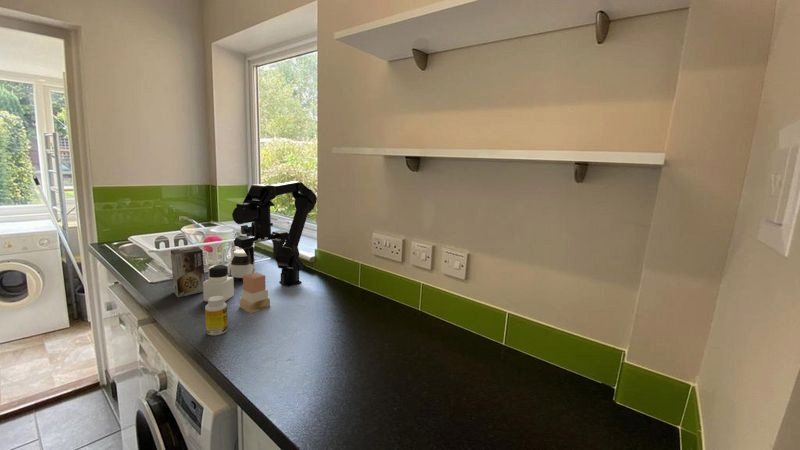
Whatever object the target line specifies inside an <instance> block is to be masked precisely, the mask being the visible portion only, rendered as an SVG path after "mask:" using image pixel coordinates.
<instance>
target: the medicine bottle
mask: <svg viewBox="0 0 800 450" xmlns="http://www.w3.org/2000/svg"><path fill="white" fill-rule="evenodd" d="M207 269H208V271H207V273H208V279H206V280H205V281H204V282H203V292H202V293H203V301H204V302H208V299H209V298H210V297H213V296H223V297H224V302H225V303H226V301H227V300H229V299H230V298H232V297H234V296H235V287H234V286H235V285H234V284H235V283H234V282H235V279H233V277H232V276H229V273H228V265H225V264H214V265H211V266H209V267H208V268H207Z"/></svg>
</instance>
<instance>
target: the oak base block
mask: <svg viewBox="0 0 800 450" xmlns="http://www.w3.org/2000/svg"><path fill="white" fill-rule="evenodd" d="M270 305H271V299H270V297H268V298H267V299H264V300H261V301H257V302H254V303H250V302H248V301H246V300H244V299H242V297H239V308H241V309H242V310H244V311H245V312H248V313H249V314H253V313H256V312H259V311H263V310H265V309H269V308H270V307H271V306H270Z"/></svg>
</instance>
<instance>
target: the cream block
mask: <svg viewBox="0 0 800 450" xmlns="http://www.w3.org/2000/svg"><path fill="white" fill-rule="evenodd" d="M241 298H242V299H244V300H246V301H248V302H250V303H254V302H257V301H261V300H264V299H267V298H269V289H267V288H266V290H263V291H259V292H256V293H253V294H252V293H249V292H247V291H245V290H243V289H241Z"/></svg>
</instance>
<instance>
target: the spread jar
mask: <svg viewBox="0 0 800 450" xmlns="http://www.w3.org/2000/svg"><path fill="white" fill-rule="evenodd" d="M227 267H228V275H229V274H230V275H231V276H230V277H233V279H234V281H238V282H243V276H244V275H248V274H252V273H256V259H255V258H254V262H253V264H250V261H249V259H248V257H247V255H246V253H245V251H244V250H243V249H242V248H240V249H237V250H234V251H233V257H232V259H231V262H230V263H229V264H228V265H227Z"/></svg>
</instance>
